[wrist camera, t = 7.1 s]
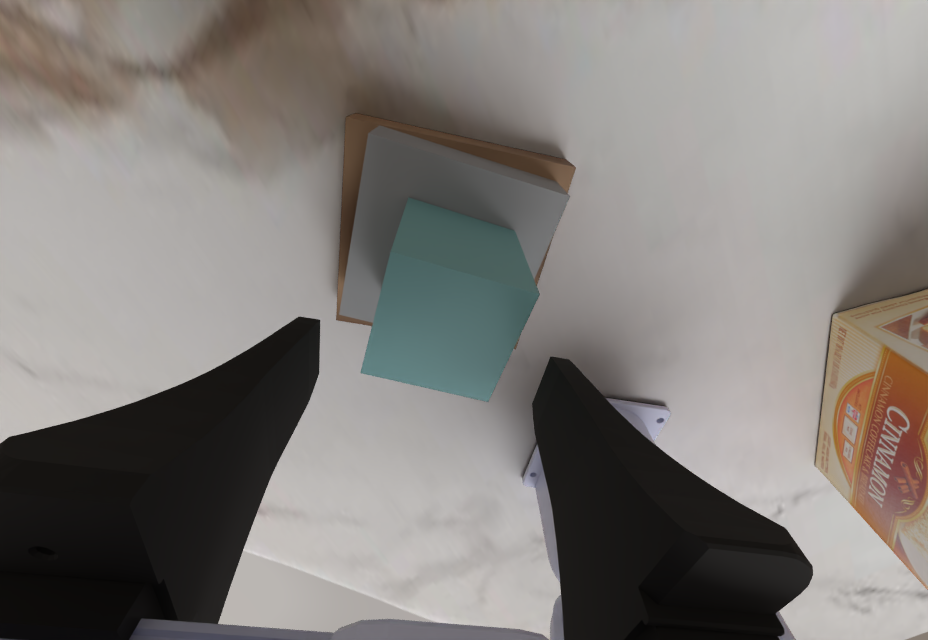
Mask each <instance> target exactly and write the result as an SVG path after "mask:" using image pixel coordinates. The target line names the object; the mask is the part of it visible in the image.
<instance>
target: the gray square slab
mask: <svg viewBox="0 0 928 640" xmlns="http://www.w3.org/2000/svg"><path fill="white" fill-rule="evenodd" d="M408 197H409V198H412V199H415V200H419V201H422V202H425V203H428V204H431V205H435V206H438V207H441V208H444V209H447V210H450V211H454V212H457V213H460V214H463V215H466V216H469V217H473V218H476V219H479V220H482V221H485V222H489V223H492V224H495V225H498V226H501V227H504V228H508V229H511V230H514V231H515V232H516V235H517V237H518V240H519V242H520V245H521V248H522V250H523V253H524V255H525V258H526V260H527V263H528V266H529V268H530V271H531V273H532V276H533V278H534V279H535V277H536V274H537V272H538V270H539V267H540V265H541V263H542V260H543V258H544V256H545V253H546V251H547V249H548V246H549V244H550V242H551V239H552V237H553V235H554V232H555V230H556V228H557V225H558V223H559V221H560V218H561V216H562V214H563V211H564V209H565V207H566V204H567V202H568V200H569V197H570V196H569V195H568V193H567V192H566V191H565V190H564V189H563V188H562V187H561V186H560V185H559V183H558V182H556V181H553V180H550V179H547V178H544V177H541V176H538V175H534V174H531V173H528V172H525V171H522V170H519V169H516V168H512V167H509V166H506V165H503V164H500V163H497V162H494V161H490V160H487V159H484V158H481V157H478V156H475V155H472V154H468V153H465V152H462V151H459V150H456V149H453V148H450V147H446V146H443V145H440V144H437V143H434V142H431V141H428V140H424V139H421V138H418V137H415V136H412V135H409V134H405V133H402V132H399V131H396V130H393V129H390V128H387V127H383V126H378V127H377V128H375V129H374V130H372V131H371V132H369V133H368V139H367V145H366V151H365V157H364V163H363V170H362V176H361V182H360V188H359V194H358V201H357V207H356V213H355V219H354V225H353V232H352V238H351V244H350V250H349V256H348V263H347V269H346V275H345V281H344V287H343V293H342V300H341V306H340V312H339V315H343V316H347V317H351V318H355V319H359V320H364V321H368V322H372V323H373V321H374V317H375V313H376V309H377V305H378V300H379V296H380V292H381V288H382V284H383V280H384V276H385V272H386V268H387V264H388V260H389V256H390V252H391V249H392V246H393V243H394V240H395V237H396V234H397V231H398V228H399V225H400V222H401V219H402V216H403V213H404V209H405V206H406V203H407V200H408Z"/></svg>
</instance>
